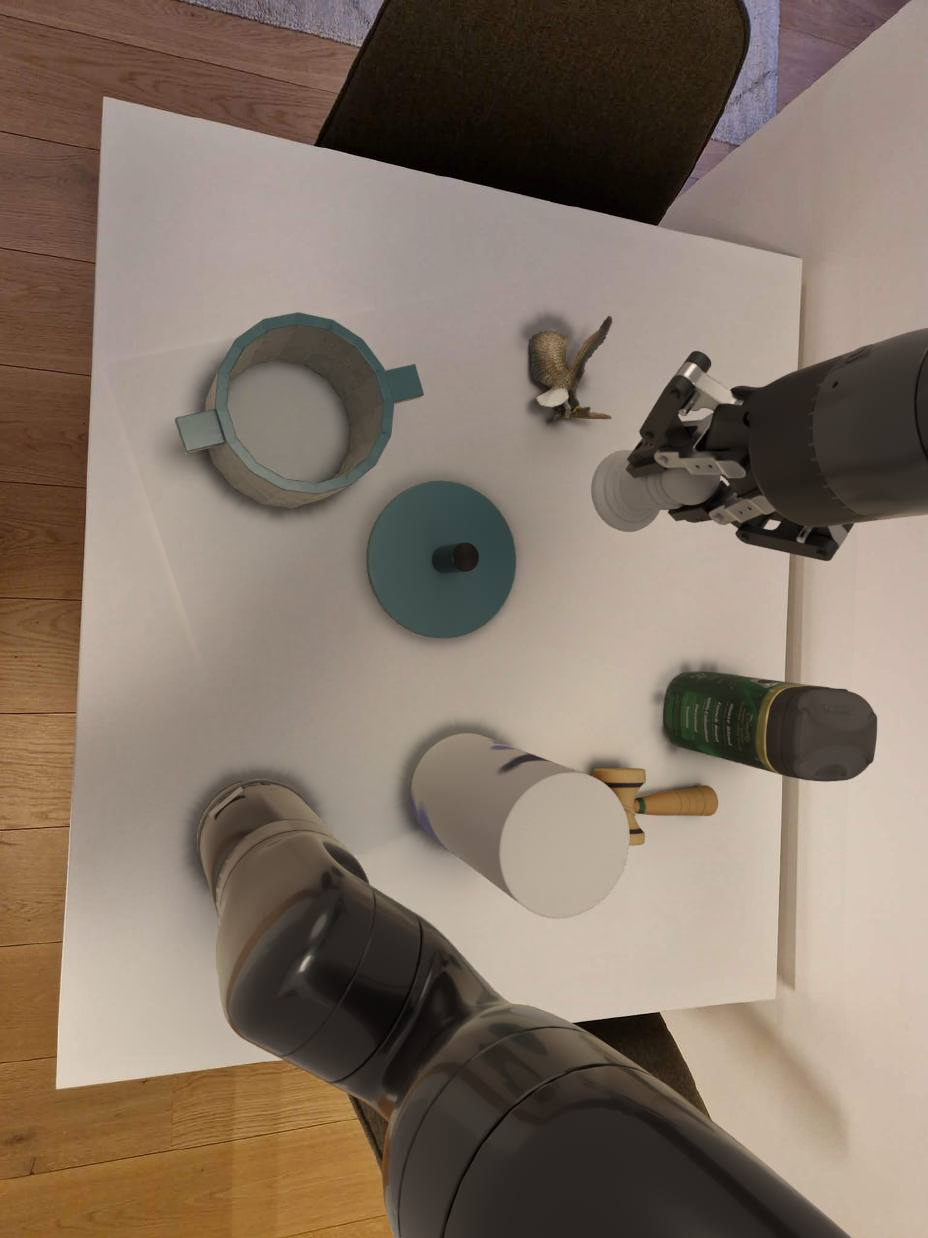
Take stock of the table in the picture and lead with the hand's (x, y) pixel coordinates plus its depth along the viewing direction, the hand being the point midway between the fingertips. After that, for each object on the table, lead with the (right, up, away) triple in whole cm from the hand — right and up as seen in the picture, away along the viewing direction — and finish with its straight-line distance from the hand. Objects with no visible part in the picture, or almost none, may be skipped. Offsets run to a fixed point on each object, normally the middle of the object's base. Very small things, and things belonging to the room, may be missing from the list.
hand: (659, 483), depth 54 cm
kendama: (+3, -26, +31) cm, 40 cm away
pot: (-27, +7, +18) cm, 33 cm away
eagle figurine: (-3, +14, +27) cm, 31 cm away
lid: (-14, -3, +23) cm, 27 cm away
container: (-12, -23, +25) cm, 36 cm away
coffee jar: (+12, -17, +34) cm, 40 cm away
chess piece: (-2, 0, +4) cm, 4 cm away
